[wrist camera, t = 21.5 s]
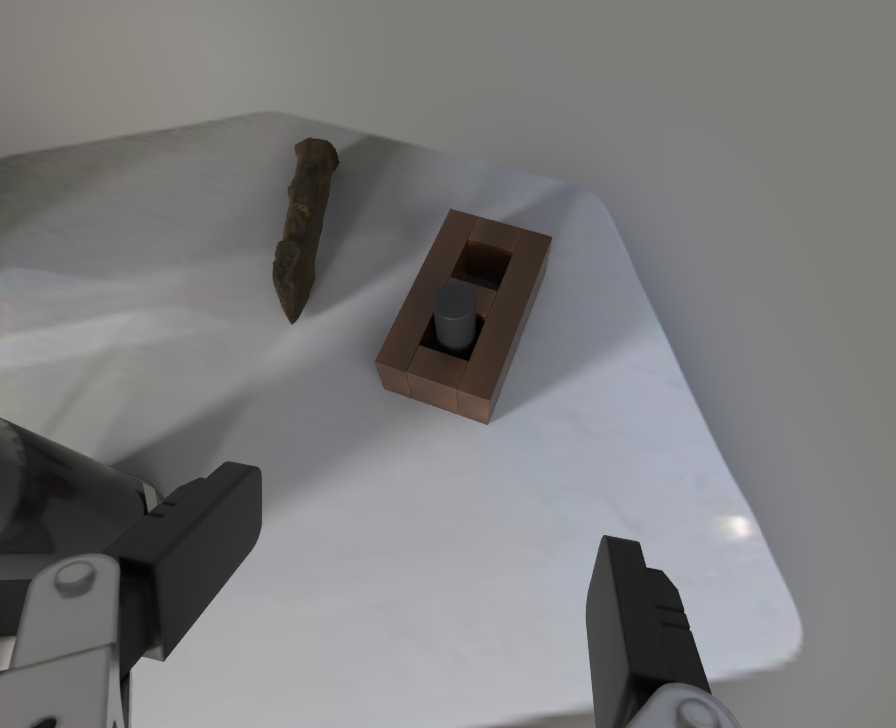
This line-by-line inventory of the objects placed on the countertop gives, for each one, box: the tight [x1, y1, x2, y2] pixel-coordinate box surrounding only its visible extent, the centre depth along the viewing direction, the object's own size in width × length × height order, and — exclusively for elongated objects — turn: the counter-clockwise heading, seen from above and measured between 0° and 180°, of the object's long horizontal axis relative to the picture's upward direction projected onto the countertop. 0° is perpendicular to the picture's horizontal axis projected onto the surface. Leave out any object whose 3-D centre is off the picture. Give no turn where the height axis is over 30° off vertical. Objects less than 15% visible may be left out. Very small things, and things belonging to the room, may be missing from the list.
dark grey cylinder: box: [433, 283, 476, 362], centre depth 42 cm, size 3×3×9 cm
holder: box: [375, 209, 552, 425], centre depth 45 cm, size 9×16×5 cm, turn 159°
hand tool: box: [273, 138, 340, 324], centre depth 50 cm, size 19×4×5 cm, turn 176°
